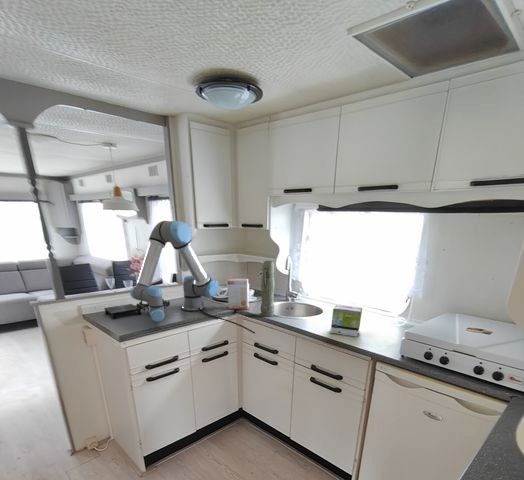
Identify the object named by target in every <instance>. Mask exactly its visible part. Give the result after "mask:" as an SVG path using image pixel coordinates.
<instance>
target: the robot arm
mask: <svg viewBox="0 0 524 480" xmlns="http://www.w3.org/2000/svg"><path fill="white" fill-rule="evenodd" d="M192 237H193V236H192V230H191V228H190V226H189V225H188V224H187V223H186V222H184V221H181V220H162V221H159V222H158V223H157V224H156V225H155V226H154V227H153V229H152V230H151V233H150V235H149V237H148V243H149V244H148V246H147V249H146V253H145V256H144V260H143V263H142V266H141V269H140V273H139V275H138V279H137V282H136V284H135V286H133V287H132V288H131V289H130V291H129V294H130V297H131V298H132V299H134V300H137V301H139V302H138V303H136V305H135V306H137V308H139V309H141V310H142V311H143V312H144V311H146V310H147V311H148V310H149V312H150V315H149V316H150V318H151V320H152V321H153V322H155V323H160V322H163V321H164V320H165V317H166V316H165V315H166V314H165V311H164V310H166V309H167V308H168V307H169V306H171V303H170V301H169V300H167V301H166V300H165V299H164V298H163V293H162V287H160V286H159V285H152V282H153V279H154V276H155V273H156V269H157V267H158V264H159V260H160V257H161V254H162V250H163V249H164V248H165V247H166V245H167V243H170V244H171V246H172V248H173V249H174V250H176V251H178V253H179V255H180V257H181V258H182V260H183V262H184V263H185V265H186V267H187V269H188V270H189V273H190V274H191V275H186V276H183V278H182V289H183V301H182V306H181V307H182V308H181V309H182V310H183V311H186V312H201V313H203V314H204V315H206V316H208V317H212V318H215V319H219V320H222V321H225V322H228V323H230V324H234V325H236V326H238V327H241V328H243V329H245V330H247V331H248V332H250V333H252V334H253V335H255V334H256V332H255V331H254V330H252V329H249V328H248V327H247V326H244V325H242V324H239V323H238V322H234V321H232V320H229V319H226V318H222V317H219V316H216V315H212V314H209V313H207V312H205V311H204V310H205V303H204V301H203V298H202V297H204V298H215V296H216V295H217V294H218V292H219V283H218V281H217V280H216V279H213V278H212V276H211V274H210V273H207V272H206V270H205V268H204V266H203V264H202V262H201V260H200V258H199V257H198V255H197V253H196V251H195V249H194V247H193V245H192V244H191V243H192ZM143 302H146V303H143ZM147 302H149V304H147Z"/></svg>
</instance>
